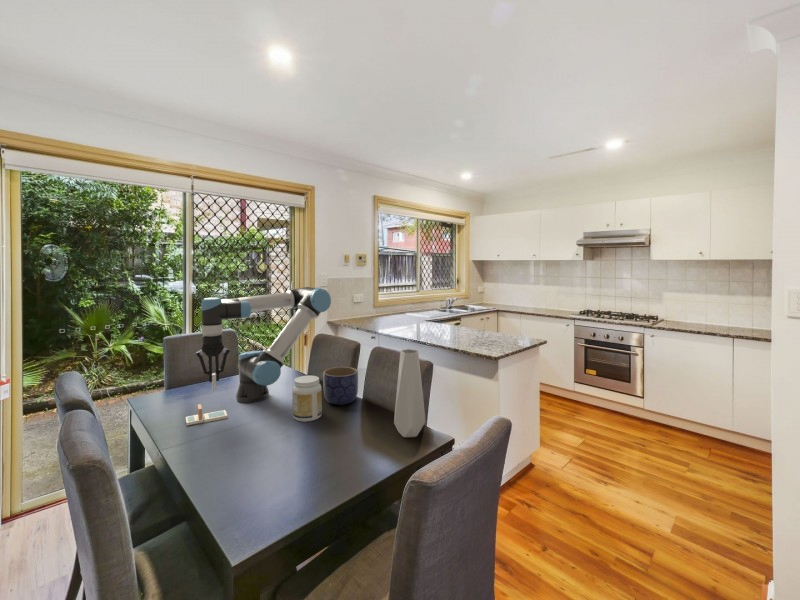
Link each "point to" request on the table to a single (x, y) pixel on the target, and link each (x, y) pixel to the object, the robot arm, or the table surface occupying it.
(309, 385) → the supplement tub
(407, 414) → the vase
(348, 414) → the table surface
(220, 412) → the cream tablet with screen
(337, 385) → the planter
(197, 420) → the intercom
